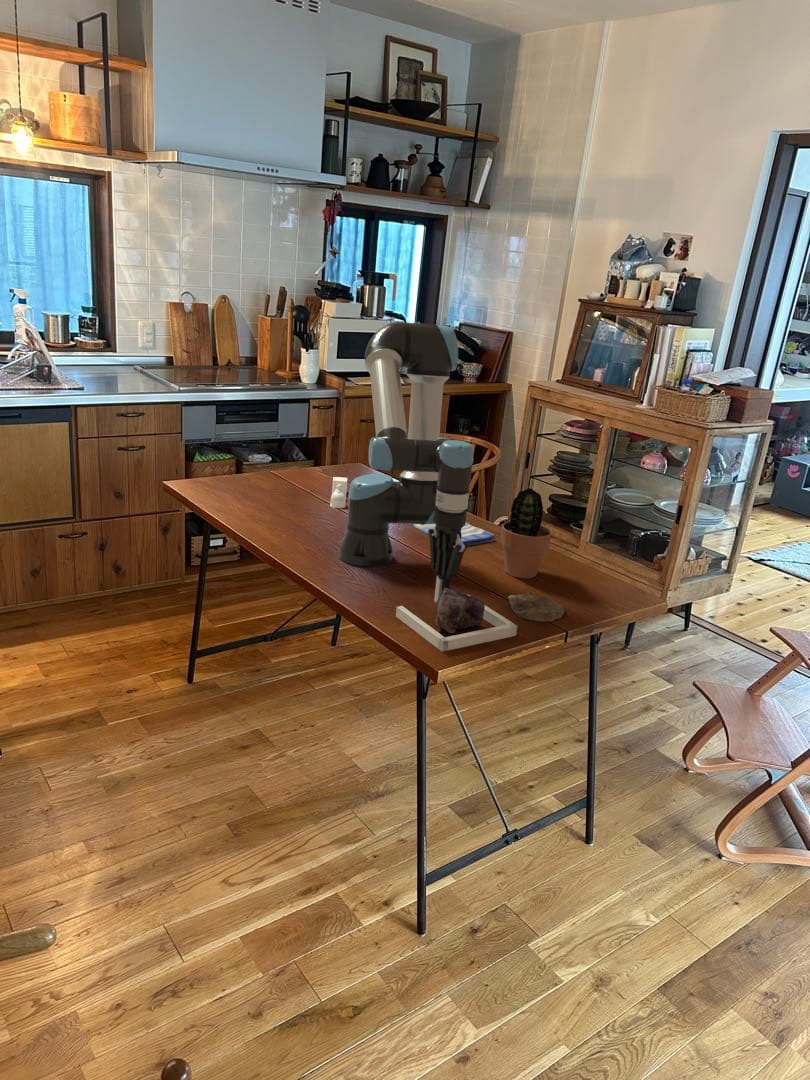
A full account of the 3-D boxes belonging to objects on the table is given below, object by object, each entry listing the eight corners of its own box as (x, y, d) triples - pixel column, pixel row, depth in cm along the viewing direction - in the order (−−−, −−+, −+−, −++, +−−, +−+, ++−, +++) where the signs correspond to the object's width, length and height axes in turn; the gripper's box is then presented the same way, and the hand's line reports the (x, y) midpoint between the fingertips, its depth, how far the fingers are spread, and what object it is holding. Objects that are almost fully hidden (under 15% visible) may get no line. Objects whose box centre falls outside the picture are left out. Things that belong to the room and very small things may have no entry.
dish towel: (450, 520, 271) (450, 512, 270) (496, 542, 253) (497, 534, 253) (407, 526, 261) (408, 517, 261) (453, 550, 244) (454, 541, 243)
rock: (484, 636, 191) (460, 617, 200) (494, 601, 189) (470, 583, 197) (440, 636, 185) (418, 616, 193) (450, 600, 182) (427, 581, 191)
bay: (395, 616, 194) (396, 606, 194) (466, 603, 205) (467, 594, 204) (441, 651, 179) (443, 641, 178) (515, 635, 190) (517, 625, 189)
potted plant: (554, 575, 229) (568, 490, 221) (524, 585, 220) (537, 497, 212) (516, 560, 238) (528, 477, 230) (486, 569, 229) (497, 484, 221)
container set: (332, 491, 290) (333, 476, 288) (346, 492, 290) (347, 477, 288) (329, 508, 271) (330, 492, 269) (345, 509, 271) (346, 493, 270)
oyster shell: (569, 625, 199) (572, 603, 197) (509, 619, 199) (512, 597, 197) (562, 606, 209) (565, 585, 208) (505, 601, 209) (508, 580, 207)
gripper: (421, 501, 192) (412, 593, 199) (453, 518, 181) (442, 614, 189) (448, 498, 196) (438, 589, 203) (480, 515, 185) (468, 609, 193)
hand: (440, 601), depth 196 cm, fingers closed
